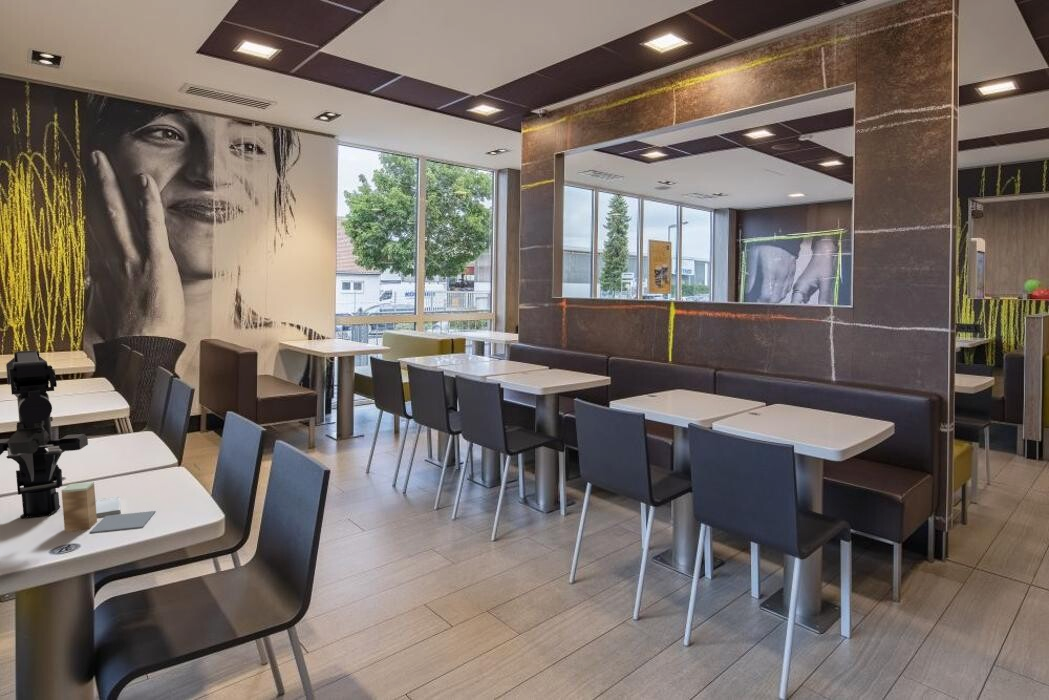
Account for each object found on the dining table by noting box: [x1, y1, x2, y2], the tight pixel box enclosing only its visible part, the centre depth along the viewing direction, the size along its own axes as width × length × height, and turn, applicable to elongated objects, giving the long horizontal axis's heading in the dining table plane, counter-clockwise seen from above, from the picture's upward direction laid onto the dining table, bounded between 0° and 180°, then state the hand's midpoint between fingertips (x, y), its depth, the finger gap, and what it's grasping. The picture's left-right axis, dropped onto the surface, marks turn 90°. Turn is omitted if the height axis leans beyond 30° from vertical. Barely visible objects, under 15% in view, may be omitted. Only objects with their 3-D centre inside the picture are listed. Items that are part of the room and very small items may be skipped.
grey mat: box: [89, 510, 156, 534], centre depth 152 cm, size 11×11×1 cm
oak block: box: [60, 481, 98, 533], centre depth 149 cm, size 5×5×10 cm
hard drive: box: [95, 496, 122, 519], centre depth 161 cm, size 2×8×12 cm
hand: (40, 480), depth 146 cm, fingers open, 3 cm apart
